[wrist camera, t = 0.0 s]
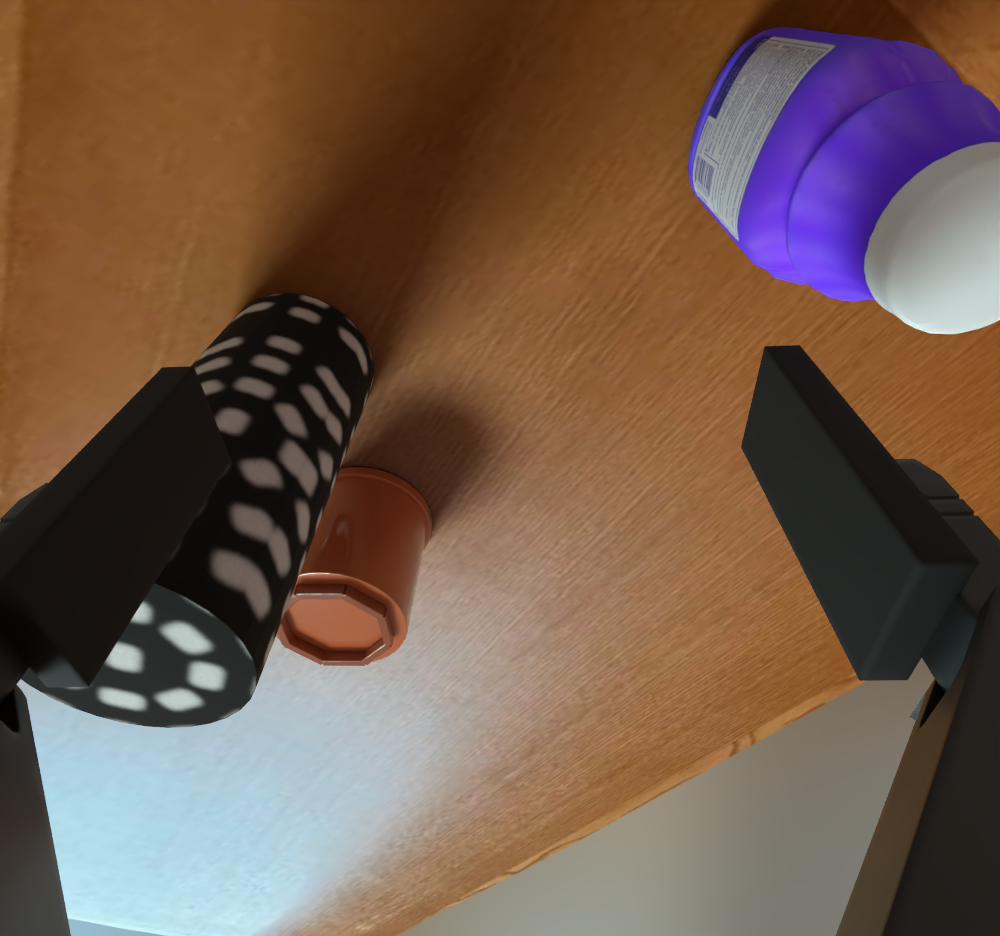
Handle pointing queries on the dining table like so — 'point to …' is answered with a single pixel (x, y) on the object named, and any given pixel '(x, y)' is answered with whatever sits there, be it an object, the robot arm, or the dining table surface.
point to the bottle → (857, 173)
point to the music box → (359, 571)
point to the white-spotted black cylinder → (241, 518)
